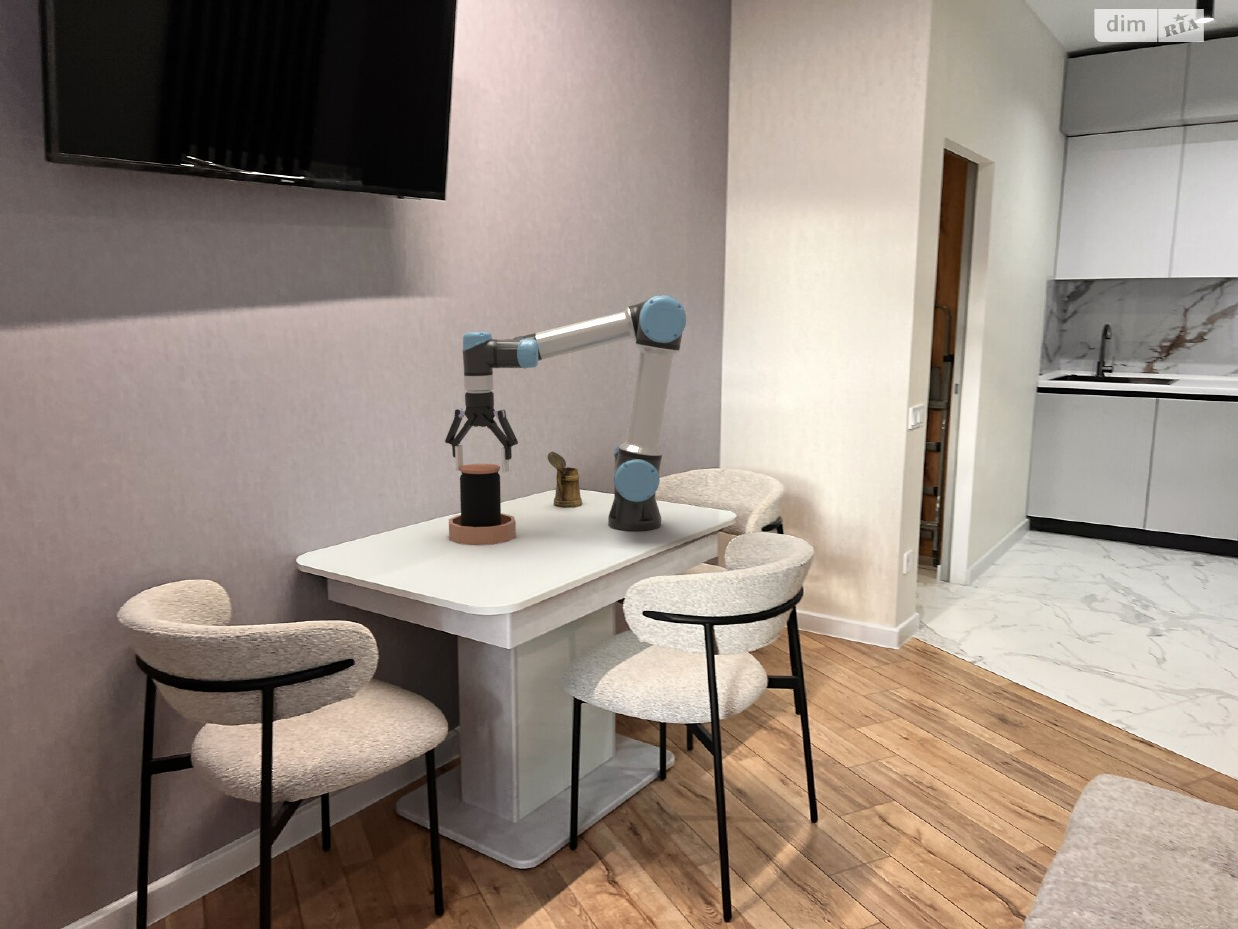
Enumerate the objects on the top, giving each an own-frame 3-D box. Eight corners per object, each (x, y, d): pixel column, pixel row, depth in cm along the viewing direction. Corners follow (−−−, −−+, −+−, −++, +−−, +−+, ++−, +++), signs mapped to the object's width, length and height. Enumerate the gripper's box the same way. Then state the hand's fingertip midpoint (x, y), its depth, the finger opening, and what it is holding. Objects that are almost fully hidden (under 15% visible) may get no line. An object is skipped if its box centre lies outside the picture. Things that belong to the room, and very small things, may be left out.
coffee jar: (505, 528, 257) (504, 463, 254) (495, 538, 247) (494, 471, 244) (467, 527, 258) (465, 462, 255) (456, 536, 248) (454, 470, 245)
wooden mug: (539, 508, 286) (539, 450, 283) (563, 500, 298) (563, 444, 294) (564, 511, 282) (564, 452, 279) (587, 503, 293) (587, 446, 290)
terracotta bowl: (525, 531, 258) (525, 515, 257) (497, 547, 242) (497, 530, 241) (468, 526, 264) (467, 510, 263) (437, 541, 247) (436, 524, 246)
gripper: (528, 390, 245) (531, 470, 249) (443, 389, 253) (447, 466, 257) (516, 393, 238) (519, 475, 242) (429, 391, 246) (434, 471, 250)
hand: (482, 470), depth 249 cm, fingers open, 13 cm apart
